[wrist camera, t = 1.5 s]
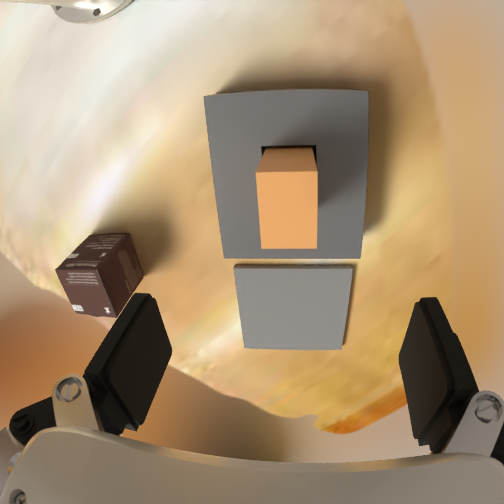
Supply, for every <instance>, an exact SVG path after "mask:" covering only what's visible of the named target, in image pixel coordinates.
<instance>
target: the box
mask: <svg viewBox="0 0 504 504" xmlns="http://www.w3.org/2000/svg"><path fill="white" fill-rule="evenodd" d="M55 271H56V273H57V275H58V278H59V280H60V282H61V284H62V286H63V288H64V290H65V292H66V294H67V296H68V299H69V301H70V303H71V305H72V306H73V308H74V310H75V312H76V313H78V314H87V315H91V316H96V317H99V316H106V317H114V318H117V317H118V315H119V314H120V312H121V311H122V309H123V308H124V306H125V305H126V303H127V301H128V300H129V298H130V297H131V295H132V294H133V292H134V291H135V289H136V288H137V286H138V285H139V283H140V282H141V280H142V279H143V274H142V271H141V268H140V265H139V262H138V259H137V256H136V253H135V250H134V247H133V244H132V240H131V237H130V234H129V233H116V234H98V235H90V236H88V237H87V238H86V239H85V240H84V241H83V242H82V243H81V244H80V245H79V246H78V247H77V248H76V249H75V250H74V251H73V252H72V253H71V254H70V255H69V256H68V257H67V258H66V259H65V260H64V261H63V262H62V264H61V265H60V266H59V267H58V268H56V269H55Z"/></svg>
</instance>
